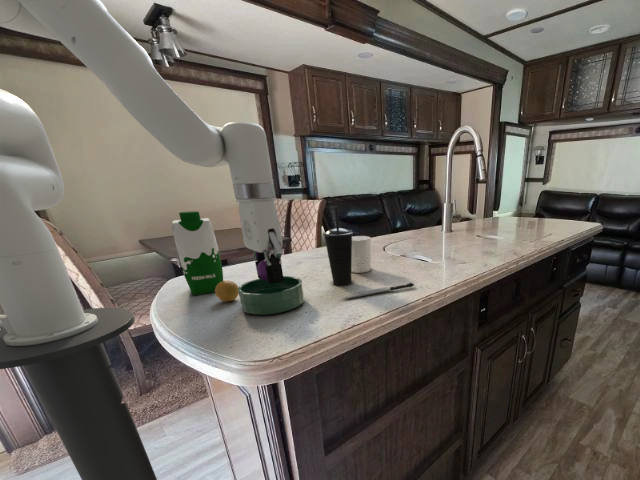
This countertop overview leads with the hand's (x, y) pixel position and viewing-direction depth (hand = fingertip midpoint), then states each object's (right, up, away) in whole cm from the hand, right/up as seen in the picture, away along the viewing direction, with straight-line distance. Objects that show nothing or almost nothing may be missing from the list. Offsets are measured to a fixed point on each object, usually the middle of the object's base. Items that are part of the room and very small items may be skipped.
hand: (270, 279), depth 70 cm
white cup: (+16, +5, +29) cm, 34 cm away
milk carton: (-22, -2, +14) cm, 26 cm away
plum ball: (0, +2, -1) cm, 2 cm away
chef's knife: (+23, -3, +9) cm, 25 cm away
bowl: (0, -6, +2) cm, 6 cm away
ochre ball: (-12, -2, +5) cm, 13 cm away
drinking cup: (+13, 0, +17) cm, 21 cm away
